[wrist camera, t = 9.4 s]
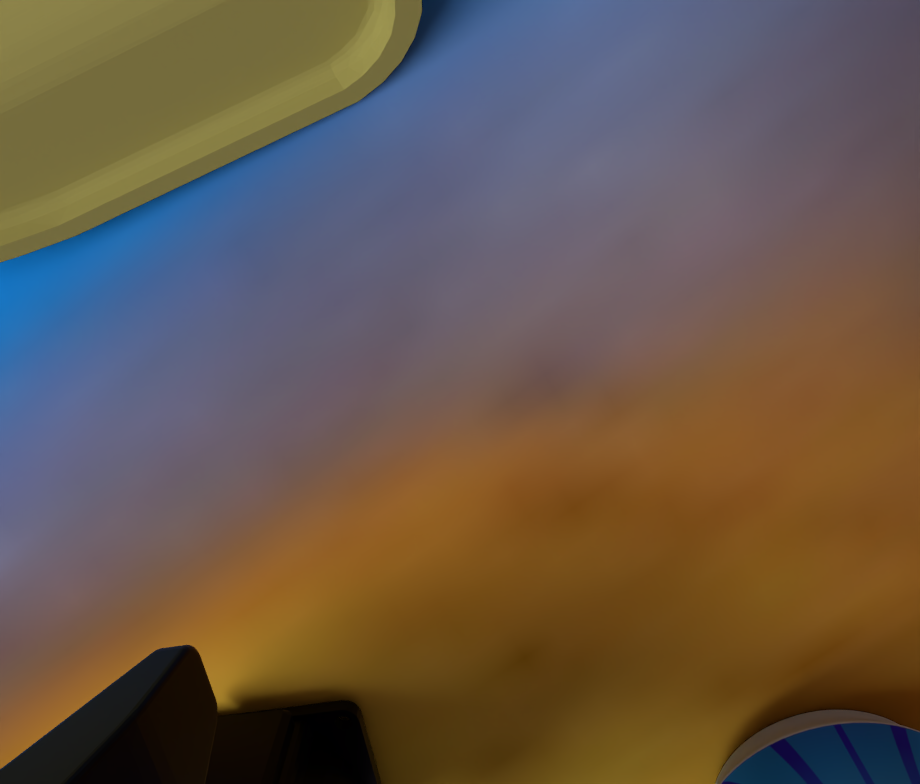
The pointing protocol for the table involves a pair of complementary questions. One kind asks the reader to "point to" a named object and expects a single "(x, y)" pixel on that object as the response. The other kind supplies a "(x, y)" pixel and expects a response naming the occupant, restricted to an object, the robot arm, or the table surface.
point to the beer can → (827, 751)
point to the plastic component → (166, 95)
